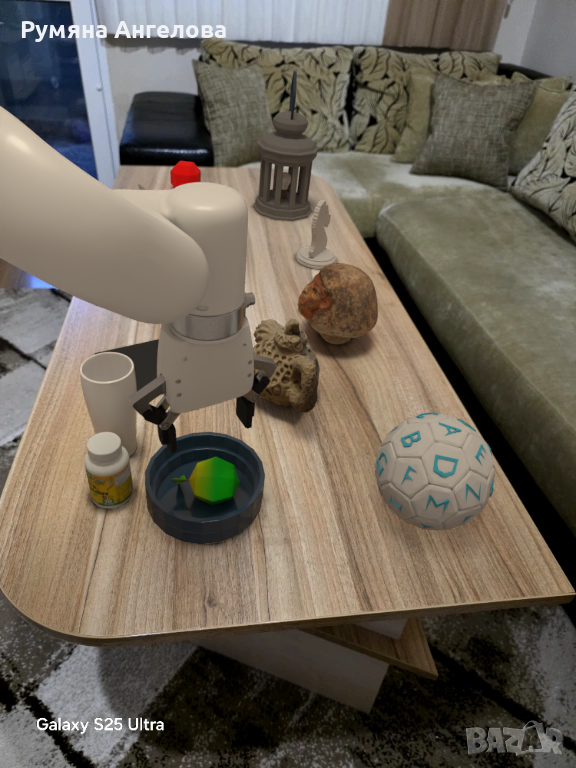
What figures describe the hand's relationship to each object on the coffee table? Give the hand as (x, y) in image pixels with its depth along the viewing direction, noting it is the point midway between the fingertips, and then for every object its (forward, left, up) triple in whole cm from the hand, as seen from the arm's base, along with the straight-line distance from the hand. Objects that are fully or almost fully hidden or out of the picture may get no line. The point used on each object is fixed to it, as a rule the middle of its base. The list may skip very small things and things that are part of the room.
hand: (207, 432), depth 66 cm
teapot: (+20, +14, -12) cm, 27 cm away
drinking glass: (-8, +13, -12) cm, 20 cm away
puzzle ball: (+26, -14, -12) cm, 32 cm away
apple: (0, 0, -12) cm, 12 cm away
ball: (+40, +108, -12) cm, 116 cm away
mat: (+4, +30, -12) cm, 32 cm away
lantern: (+61, +87, -12) cm, 107 cm away
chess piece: (+53, +56, -12) cm, 78 cm away
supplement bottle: (-11, +6, -12) cm, 18 cm away
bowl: (0, 0, -12) cm, 12 cm away
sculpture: (+38, +26, -12) cm, 47 cm away
